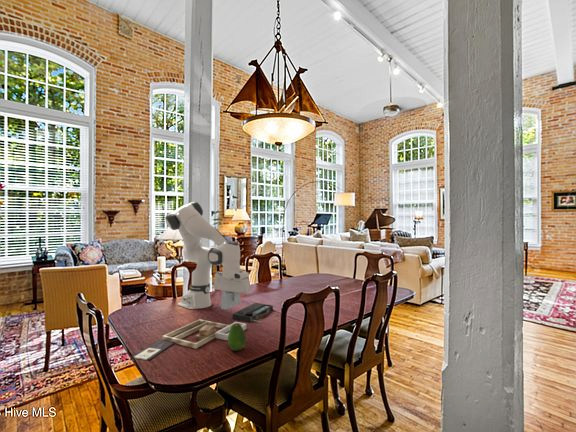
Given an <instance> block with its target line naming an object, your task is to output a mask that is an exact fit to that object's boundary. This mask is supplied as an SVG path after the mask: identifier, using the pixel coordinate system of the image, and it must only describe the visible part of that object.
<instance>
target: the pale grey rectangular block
mask: <svg viewBox="0 0 576 432" xmlns="http://www.w3.org/2000/svg"><path fill="white" fill-rule="evenodd" d="M234 296H235V294H234V292H229V291H228V292H227V293H225V294H224V293H222V294H221V296H220V297H221V299H220V300H221V301H220V302H221V303H220V307H221V310H229V309H231V308H234V307H235V306H237V305H241V293H239V295H238V297H237V301H233V297H234Z"/></svg>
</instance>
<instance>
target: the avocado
mask: <svg viewBox="0 0 576 432" xmlns="http://www.w3.org/2000/svg"><path fill="white" fill-rule="evenodd" d="M228 333H229V336H228V340H227V343H228V346H229V348H230V349H231V350H232V351H234V352H237V351H240V350H242V349H243V348H244V347H245V345H246V341H247V337H246V333H245V330H243V329H242V327H241V325H240V324H238V323H235V324H233V325H232V327H231V329H230V331H229V332H228Z"/></svg>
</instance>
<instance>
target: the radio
mask: <svg viewBox="0 0 576 432" xmlns="http://www.w3.org/2000/svg"><path fill="white" fill-rule="evenodd" d="M272 311H274V305H271V304H265V303H259V302H254V303H252V304H250V305H248V306H246V307H244V308H241V309H239V310H237V311H235V312H233V313H231V316H232V317H231V319H233V320H237V321H243V322H246V323H247V322H249V323H252V322H257V323H262V321H260V320H258V319H261V318H264V317H266V316H268V315H269V313H270V312H272Z"/></svg>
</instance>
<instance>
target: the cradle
mask: <svg viewBox="0 0 576 432" xmlns="http://www.w3.org/2000/svg"><path fill="white" fill-rule="evenodd" d="M235 323H238V324H240V325H241V327H242V329H243V331H245V330H247V327H248V326H247V323H243V322H238V321H233V323H231V324H228V325H229V326H227V327H225V328H220V329H219V330H217V331H218V332H216V333H215V338H214V339H218V340H219V339H220V340H224V341H228V336H229V332H230V329H231V327H232V325H233V324H235Z"/></svg>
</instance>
